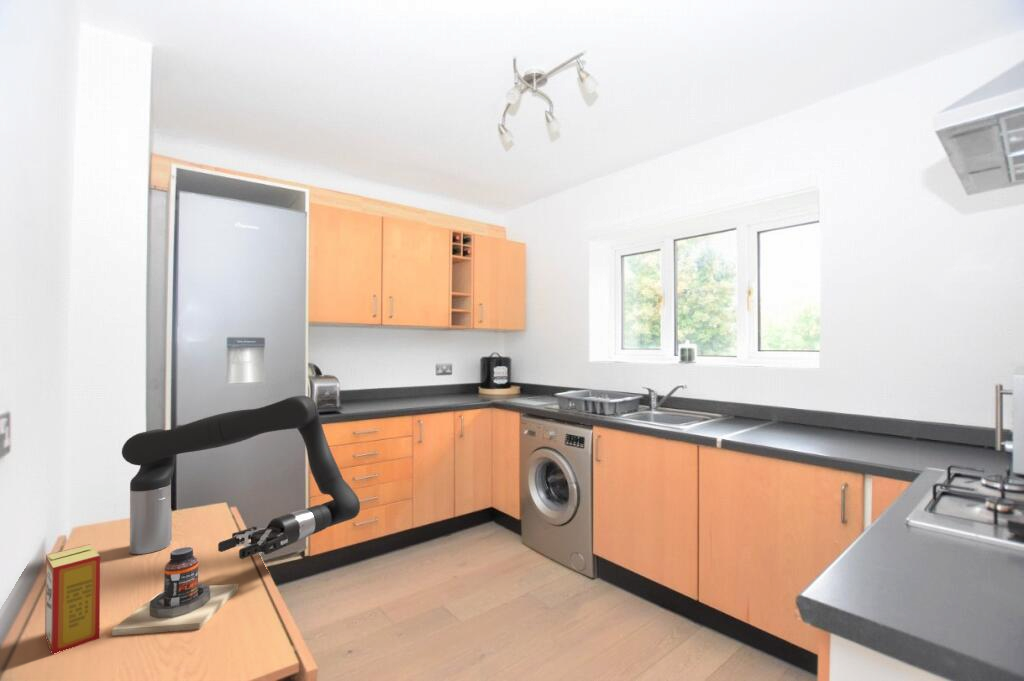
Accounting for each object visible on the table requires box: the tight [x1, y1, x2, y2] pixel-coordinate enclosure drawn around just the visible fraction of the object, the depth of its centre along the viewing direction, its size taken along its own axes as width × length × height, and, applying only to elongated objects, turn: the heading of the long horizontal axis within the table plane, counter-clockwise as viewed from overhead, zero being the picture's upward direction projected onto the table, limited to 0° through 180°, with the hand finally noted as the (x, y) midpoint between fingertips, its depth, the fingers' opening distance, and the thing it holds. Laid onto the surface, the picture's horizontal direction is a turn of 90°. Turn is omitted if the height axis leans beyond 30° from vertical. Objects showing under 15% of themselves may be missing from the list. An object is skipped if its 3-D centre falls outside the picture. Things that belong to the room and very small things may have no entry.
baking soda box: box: [44, 544, 101, 655], centre depth 91 cm, size 10×6×16 cm
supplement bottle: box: [163, 546, 199, 606], centre depth 100 cm, size 6×6×11 cm
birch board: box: [111, 583, 239, 636], centre depth 100 cm, size 16×16×1 cm
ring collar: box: [150, 583, 211, 619], centre depth 100 cm, size 10×10×2 cm
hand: (229, 551), depth 109 cm, fingers open, 8 cm apart
